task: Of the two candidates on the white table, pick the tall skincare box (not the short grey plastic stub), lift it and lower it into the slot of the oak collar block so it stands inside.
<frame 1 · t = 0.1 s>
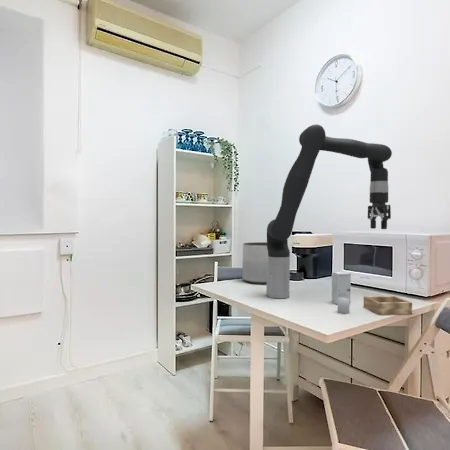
hand: (378, 228, 148), 29 cm above the table, fingers open, 8 cm apart
grey stub: (343, 312, 120), on the table
planter: (263, 281, 181), on the table
skincare box: (340, 303, 134), on the table
oak collar: (386, 310, 123), on the table
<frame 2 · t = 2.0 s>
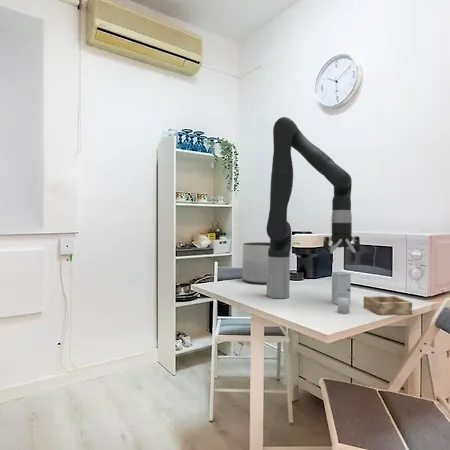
hand: (341, 262, 133), 16 cm above the table, fingers open, 8 cm apart
nothing on the table moved.
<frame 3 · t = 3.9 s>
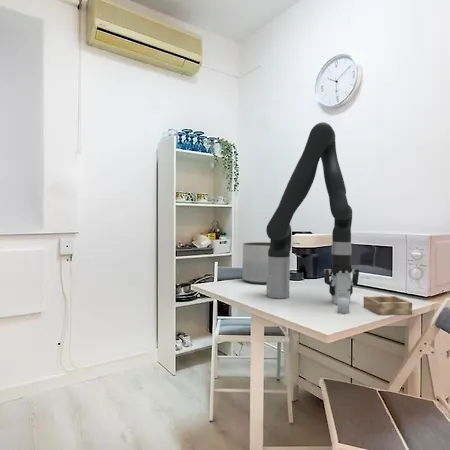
hand: (340, 294, 134), 3 cm above the table, fingers closed on skincare box, 6 cm apart
skincare box: (340, 303, 134), on the table, touching gripper
everything else where it was.
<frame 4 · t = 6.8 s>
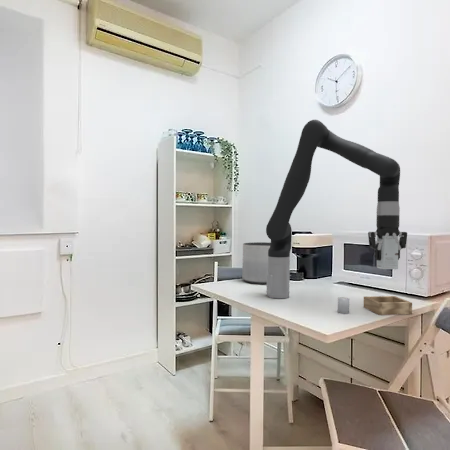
hand: (387, 260, 123), 18 cm above the table, fingers closed on skincare box, 6 cm apart
skincare box: (387, 269, 123), point 15 cm above the table, touching gripper
everything else where it was.
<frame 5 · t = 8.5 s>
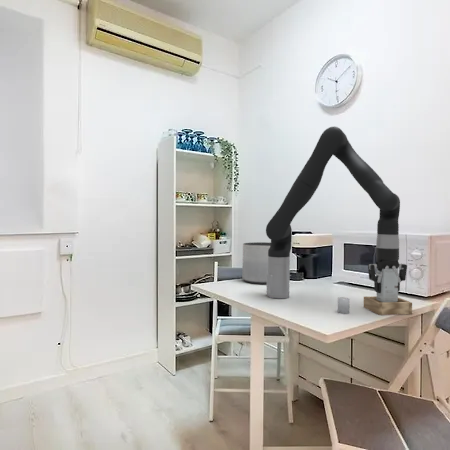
hand: (387, 292, 123), 7 cm above the table, fingers closed on skincare box, 6 cm apart
skincare box: (387, 301, 123), point 3 cm above the table, touching gripper
everything else where it was.
when the fingers open (5 cm above the table, at t = 9.8 s): skincare box drops 2 cm, resting in oak collar.
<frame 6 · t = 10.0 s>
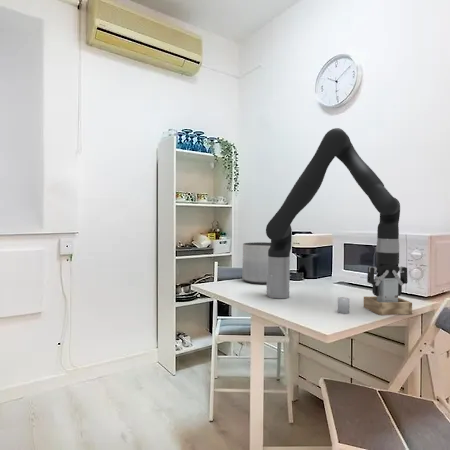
hand: (387, 295, 123), 6 cm above the table, fingers open, 8 cm apart
skincare box: (387, 310, 123), resting in oak collar
everything else where it was.
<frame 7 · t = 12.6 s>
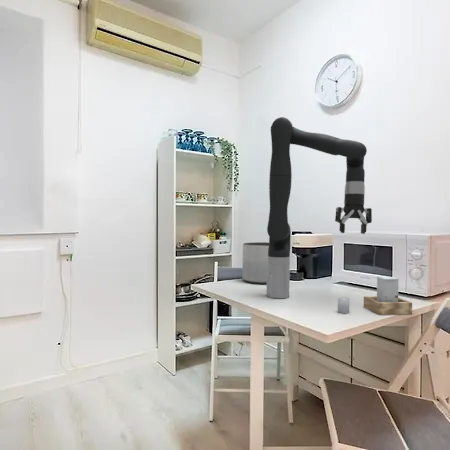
hand: (352, 233, 137), 28 cm above the table, fingers open, 8 cm apart
nothing on the table moved.
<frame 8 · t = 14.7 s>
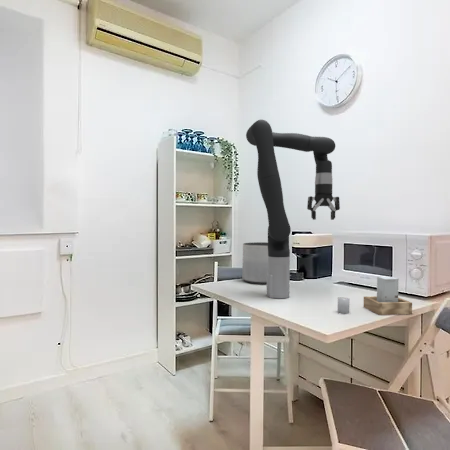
hand: (323, 219, 152), 33 cm above the table, fingers open, 8 cm apart
nothing on the table moved.
at the end: skincare box inside the target area on the oak collar (0.2 cm from its centre), point 0.0 cm above the oak collar's base; skincare box tilted 0°; the gripper is holding nothing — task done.
